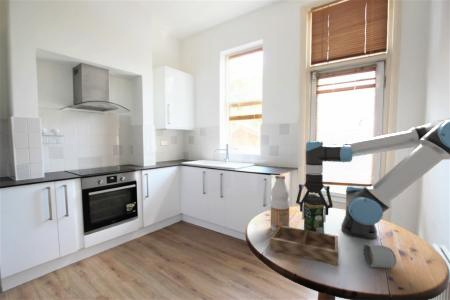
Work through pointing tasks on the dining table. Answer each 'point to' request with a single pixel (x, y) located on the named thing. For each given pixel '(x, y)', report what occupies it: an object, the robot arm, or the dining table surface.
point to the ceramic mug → (378, 256)
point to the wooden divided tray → (305, 244)
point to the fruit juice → (279, 203)
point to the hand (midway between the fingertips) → (313, 219)
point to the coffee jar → (314, 213)
